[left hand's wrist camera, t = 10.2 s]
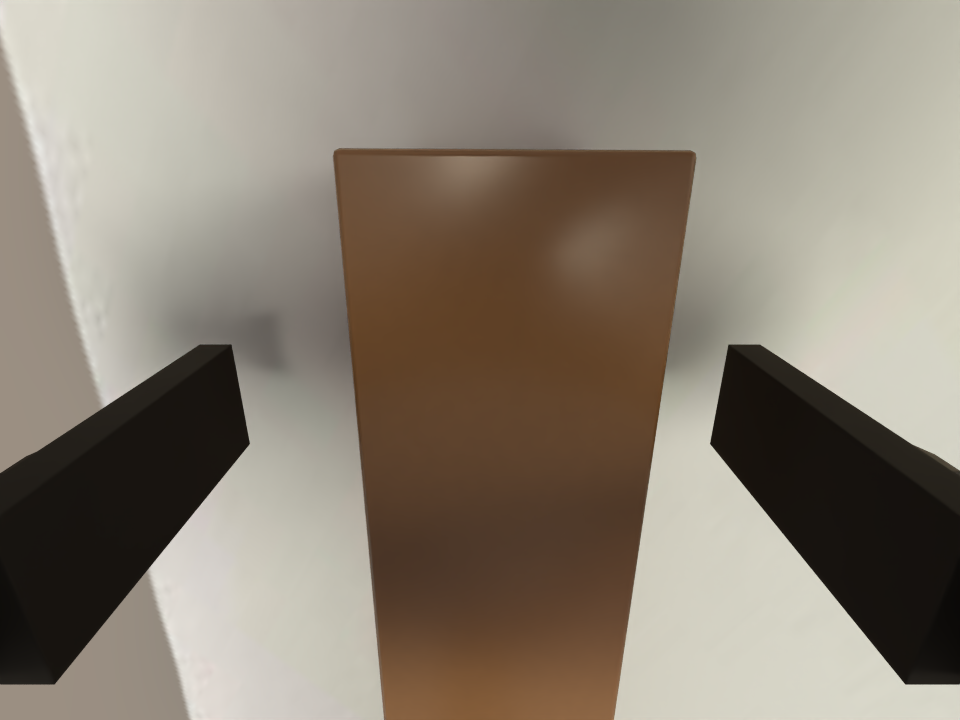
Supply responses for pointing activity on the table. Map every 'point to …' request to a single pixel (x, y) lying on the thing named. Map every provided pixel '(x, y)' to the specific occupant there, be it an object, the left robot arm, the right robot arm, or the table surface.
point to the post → (507, 413)
